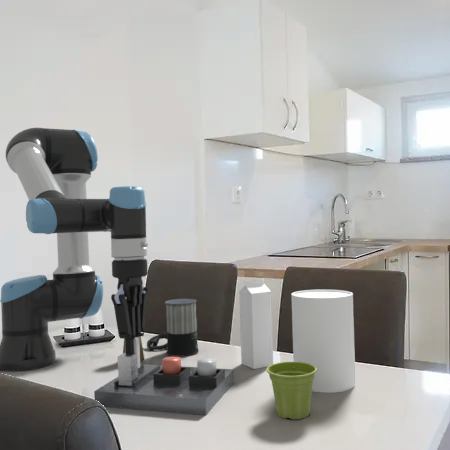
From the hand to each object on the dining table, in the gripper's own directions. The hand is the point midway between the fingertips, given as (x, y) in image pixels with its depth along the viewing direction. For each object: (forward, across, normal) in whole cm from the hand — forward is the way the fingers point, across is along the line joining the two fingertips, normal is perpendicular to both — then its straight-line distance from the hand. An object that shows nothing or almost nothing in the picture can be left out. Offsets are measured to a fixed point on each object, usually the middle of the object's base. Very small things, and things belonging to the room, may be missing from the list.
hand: (133, 367), depth 109 cm
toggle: (+3, -2, 0) cm, 4 cm away
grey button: (+2, +2, -16) cm, 16 cm away
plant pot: (+6, -4, -35) cm, 36 cm away
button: (+2, +2, -8) cm, 8 cm away
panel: (+6, +2, -7) cm, 9 cm away
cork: (+6, +26, +13) cm, 29 cm away
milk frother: (+6, +37, +7) cm, 38 cm away
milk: (+6, +28, -21) cm, 35 cm away
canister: (+6, +16, -39) cm, 43 cm away
